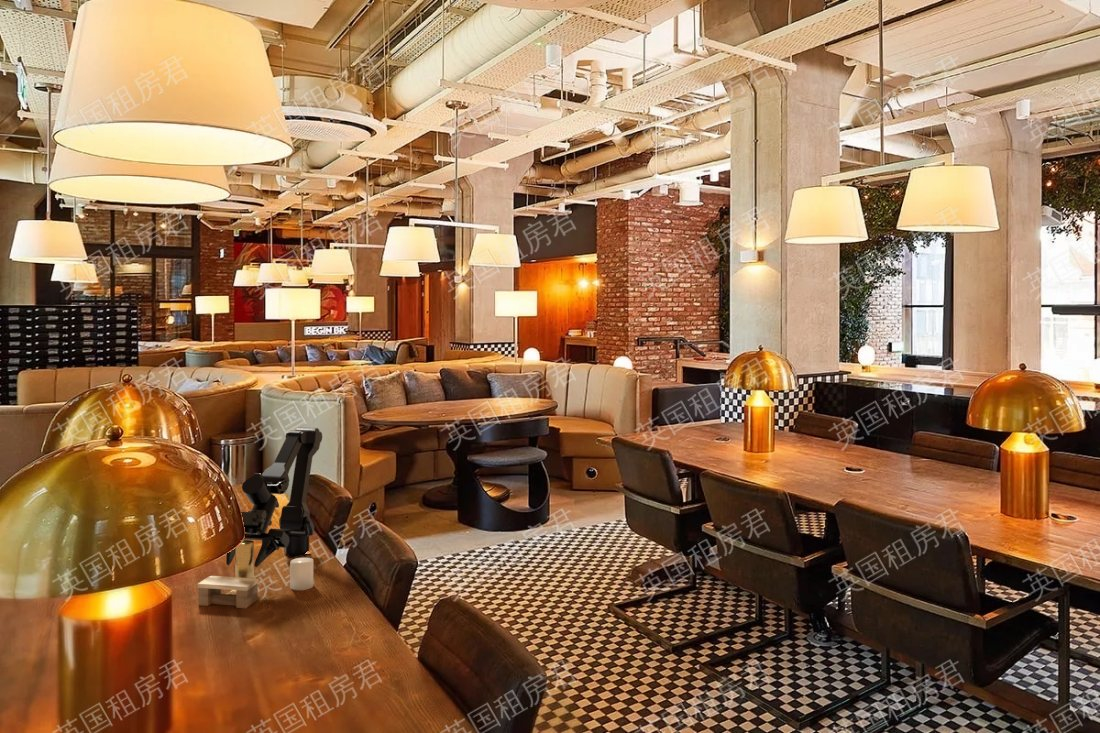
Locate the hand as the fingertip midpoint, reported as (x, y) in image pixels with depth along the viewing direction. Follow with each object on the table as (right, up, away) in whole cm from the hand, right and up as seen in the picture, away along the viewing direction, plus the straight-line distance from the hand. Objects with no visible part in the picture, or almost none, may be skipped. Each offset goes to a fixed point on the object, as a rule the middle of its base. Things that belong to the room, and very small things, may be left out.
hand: (241, 565), depth 198 cm
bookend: (0, -7, -1) cm, 8 cm away
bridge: (-1, -8, -6) cm, 10 cm away
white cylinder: (+14, -7, +7) cm, 17 cm away
